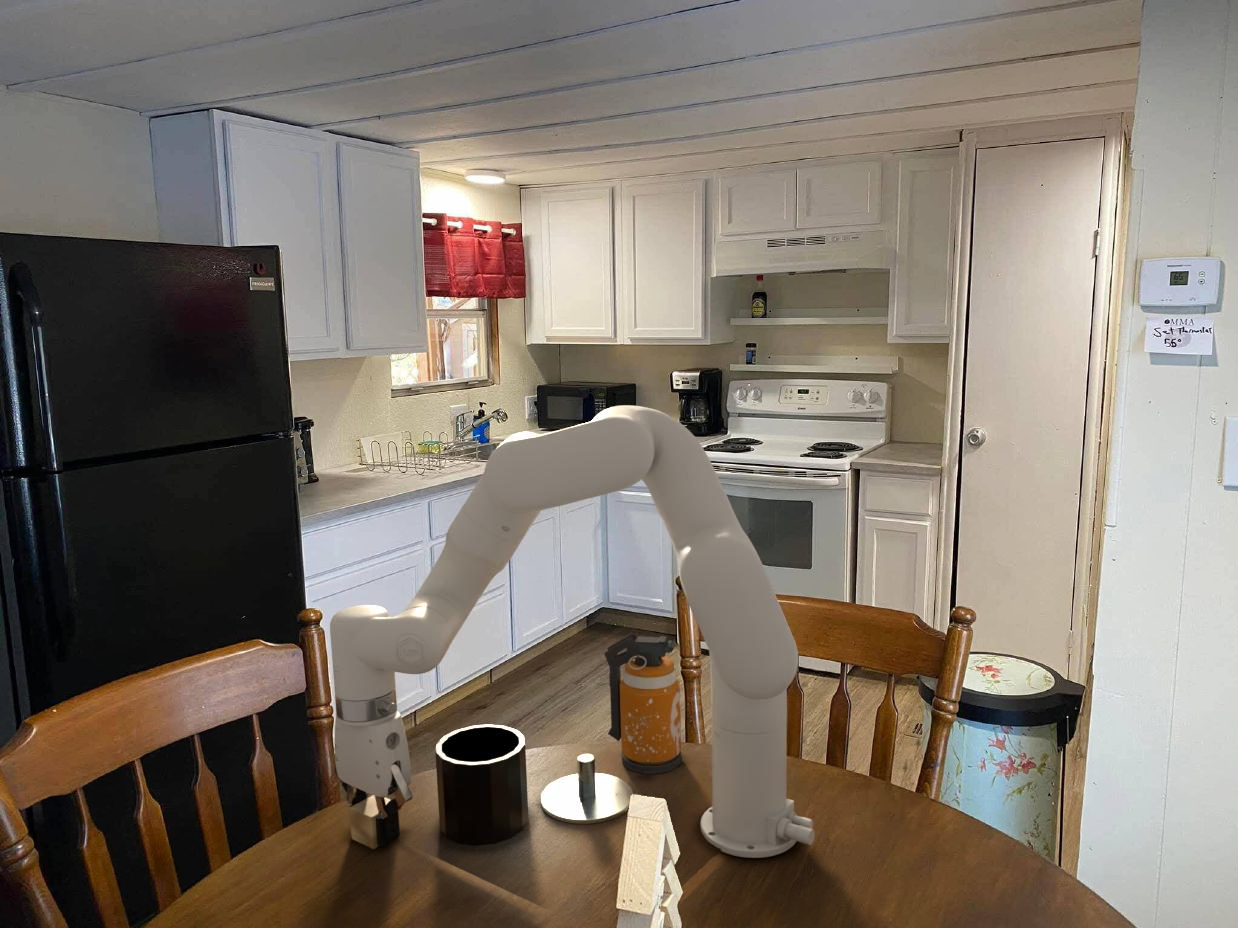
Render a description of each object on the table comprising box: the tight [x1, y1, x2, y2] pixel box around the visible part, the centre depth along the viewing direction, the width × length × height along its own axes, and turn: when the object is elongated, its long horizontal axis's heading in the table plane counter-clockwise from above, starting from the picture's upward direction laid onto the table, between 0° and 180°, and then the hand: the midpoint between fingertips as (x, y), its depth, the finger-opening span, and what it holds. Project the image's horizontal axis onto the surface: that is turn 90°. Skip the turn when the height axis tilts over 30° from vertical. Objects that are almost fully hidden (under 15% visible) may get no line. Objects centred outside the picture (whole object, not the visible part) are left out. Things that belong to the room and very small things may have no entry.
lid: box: [540, 753, 634, 825], centre depth 126 cm, size 13×13×7 cm
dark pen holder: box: [434, 724, 530, 847], centre depth 121 cm, size 12×12×12 cm
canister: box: [603, 632, 682, 774], centre depth 136 cm, size 9×11×20 cm
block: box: [349, 795, 401, 850], centre depth 119 cm, size 4×4×4 cm
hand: (375, 833), depth 119 cm, fingers closed on block, 4 cm apart
